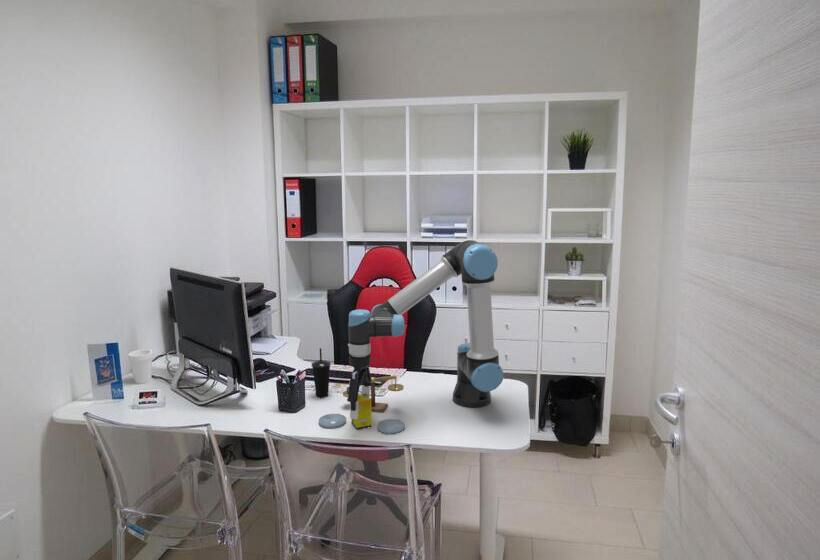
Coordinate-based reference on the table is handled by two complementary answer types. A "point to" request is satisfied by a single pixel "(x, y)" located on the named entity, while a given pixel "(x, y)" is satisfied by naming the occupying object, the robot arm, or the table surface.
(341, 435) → the table surface
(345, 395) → the balance beam
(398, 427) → the blue-grey plate
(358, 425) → the supplement box
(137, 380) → the foam cup
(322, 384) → the drinking cup
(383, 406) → the balance stand
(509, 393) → the table surface
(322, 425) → the dish low side
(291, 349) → the table surface
